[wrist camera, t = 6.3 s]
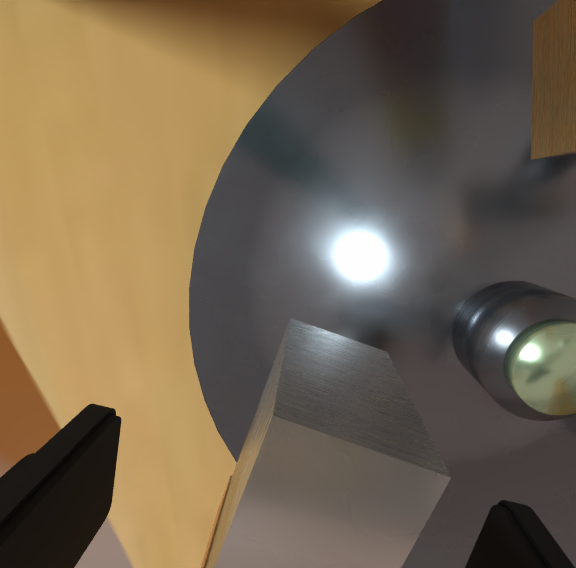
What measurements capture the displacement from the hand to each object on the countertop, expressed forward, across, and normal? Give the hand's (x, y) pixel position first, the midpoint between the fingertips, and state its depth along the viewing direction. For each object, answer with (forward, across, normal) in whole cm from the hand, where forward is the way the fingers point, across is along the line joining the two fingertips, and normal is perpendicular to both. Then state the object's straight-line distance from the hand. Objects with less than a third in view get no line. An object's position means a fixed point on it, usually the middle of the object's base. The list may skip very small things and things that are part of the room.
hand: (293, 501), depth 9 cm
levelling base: (+7, -7, -4) cm, 10 cm away
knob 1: (+5, 0, 0) cm, 5 cm away
